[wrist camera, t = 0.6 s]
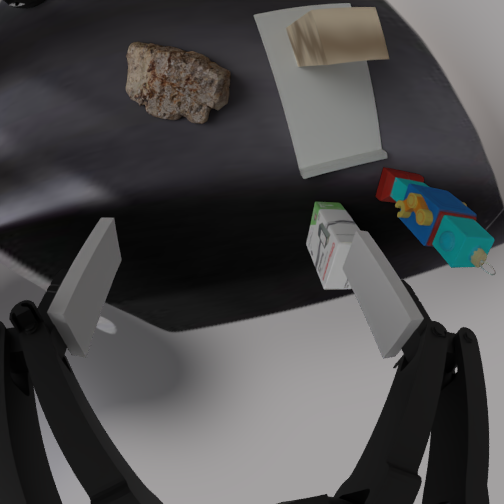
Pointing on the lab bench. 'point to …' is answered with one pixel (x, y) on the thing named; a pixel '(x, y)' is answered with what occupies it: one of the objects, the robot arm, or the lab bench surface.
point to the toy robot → (436, 218)
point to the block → (337, 36)
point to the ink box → (331, 243)
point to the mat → (322, 101)
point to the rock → (175, 82)
